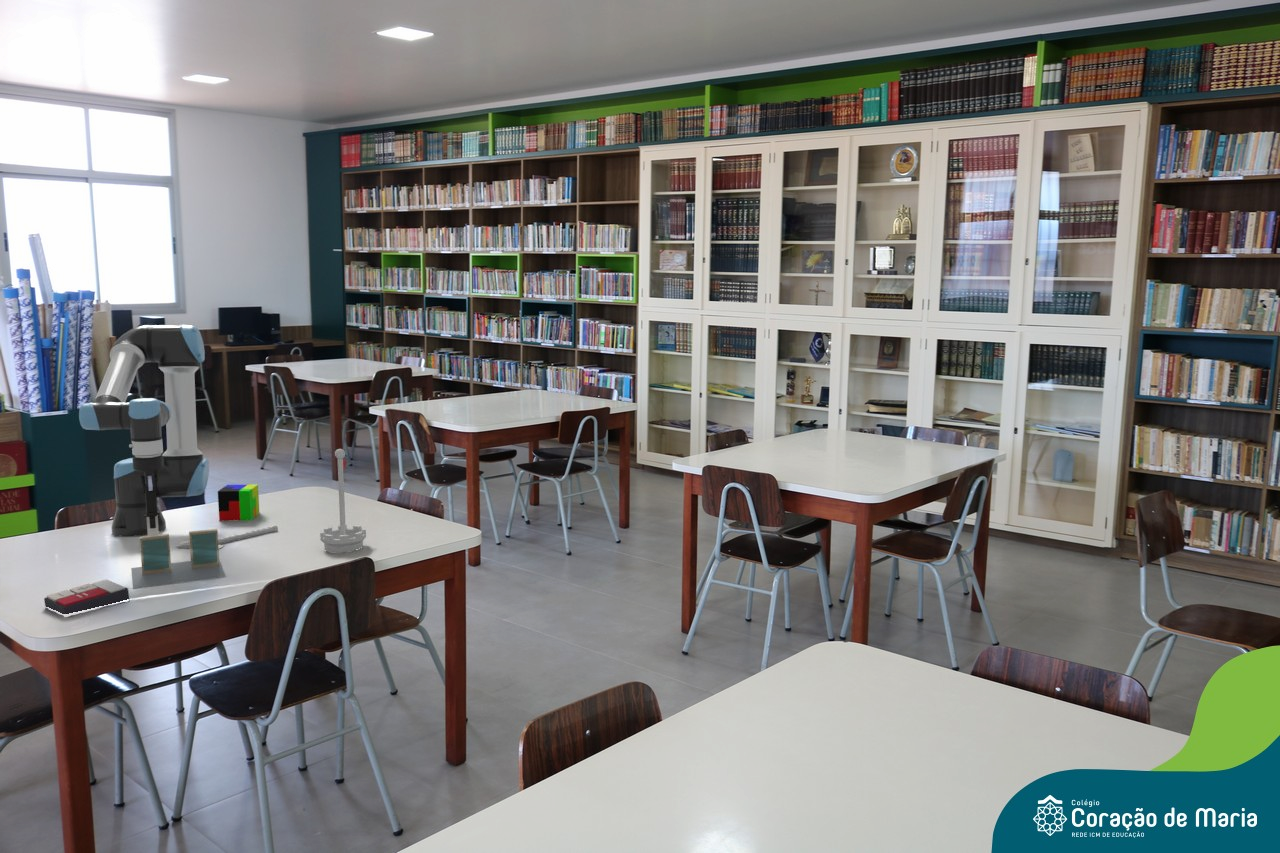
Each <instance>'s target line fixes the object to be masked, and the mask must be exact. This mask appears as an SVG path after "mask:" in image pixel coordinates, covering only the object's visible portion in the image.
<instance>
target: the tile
mask: <svg viewBox="0 0 1280 853" xmlns="http://www.w3.org/2000/svg"><path fill="white" fill-rule="evenodd" d="M170 544H171V543H170V534H169V533H165V534H159V535H153V536H148V535H143V536H139V546H140V548H139V549H140V560H141V567H142V575H144V574H152V573H160V572H168V571H171V563H172V558H171V545H170Z"/></svg>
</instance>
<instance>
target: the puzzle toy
mask: <svg viewBox="0 0 1280 853" xmlns="http://www.w3.org/2000/svg"><path fill="white" fill-rule="evenodd" d="M259 495H260V494H259V484H257V483H256V484H226V485H225V486H223V487H222V488H220V489H219V490H218V491H217V504H218V520H219V522H223V521H222V520H224V522H225V521H228V522H229V520H238V521H252V520H253V519H254V518H255V517H257V515H259V514H260V499H259V498H260V497H259Z"/></svg>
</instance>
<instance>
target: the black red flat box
mask: <svg viewBox="0 0 1280 853" xmlns="http://www.w3.org/2000/svg"><path fill="white" fill-rule="evenodd" d="M129 593H130V592H129V588H128V587H126V586H123V585H121V584H119V583H116V582H114V581H111V580H110V579H106V578H105V579H103V580H99V581H95V582H92V583H86V584H83V585H79V586H75V587H72V588H69V590H68V589H65V590H62V591H58V592H54V593H51V594H47V595H46V597H44V607H45V606H46V607H49V608H51V609H53V610H56V611H58V612H60V613H62V614H69V613H73V612H78V611H82V610H87V609H91V608H95V607H99V606H104V605H108V604H112V603H116V602H120V601H123V600H127V599H129V600H130V594H129Z"/></svg>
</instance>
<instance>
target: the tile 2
mask: <svg viewBox="0 0 1280 853" xmlns="http://www.w3.org/2000/svg"><path fill="white" fill-rule="evenodd" d="M188 533H189V534H188V536H189V537H188V538H189V542H190V549H189V550H190V552H189V553H190V561H191V568H200V567H208V566H216V565H219V560H220V551H219V548H218V539H219V535H218V528H209V529H201V530H191V531H188Z"/></svg>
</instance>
